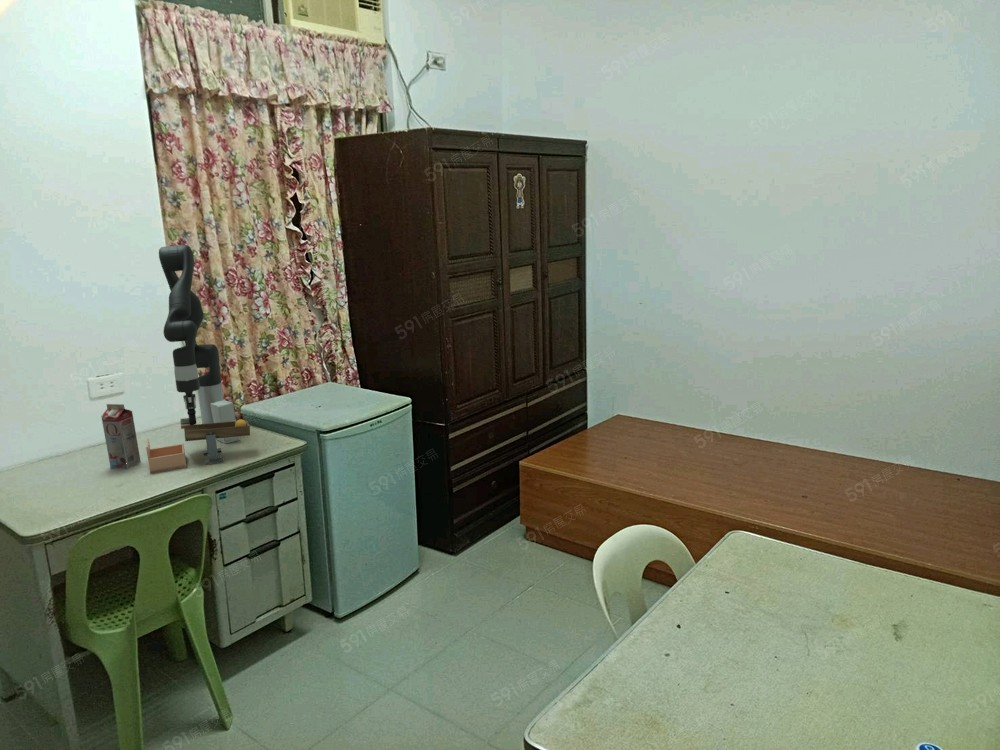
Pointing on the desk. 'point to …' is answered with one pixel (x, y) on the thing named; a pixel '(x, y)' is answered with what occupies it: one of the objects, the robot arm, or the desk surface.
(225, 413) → the skincare box
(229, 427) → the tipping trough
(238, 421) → the ball
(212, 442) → the lever stand
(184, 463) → the cup
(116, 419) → the juice carton
